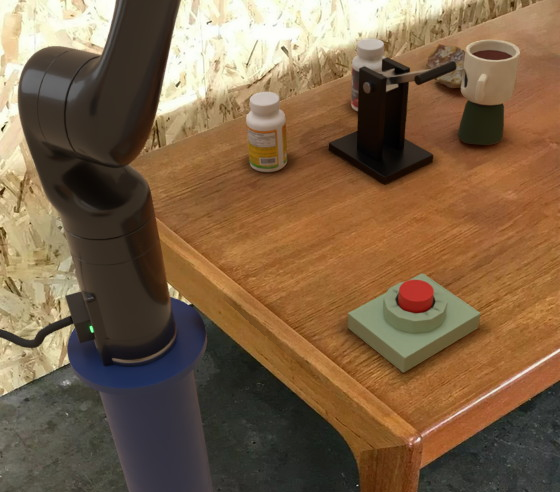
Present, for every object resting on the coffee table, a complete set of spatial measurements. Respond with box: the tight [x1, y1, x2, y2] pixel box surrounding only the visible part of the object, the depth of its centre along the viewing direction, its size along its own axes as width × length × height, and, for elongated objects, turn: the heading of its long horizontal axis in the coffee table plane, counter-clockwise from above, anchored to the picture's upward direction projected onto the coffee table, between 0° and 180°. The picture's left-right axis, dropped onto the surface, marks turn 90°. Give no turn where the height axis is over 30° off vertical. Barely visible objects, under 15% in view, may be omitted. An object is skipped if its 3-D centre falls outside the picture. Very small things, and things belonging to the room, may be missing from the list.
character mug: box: [457, 39, 521, 146], centre depth 110 cm, size 11×7×13 cm, turn 156°
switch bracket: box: [328, 56, 434, 185], centre depth 108 cm, size 12×9×13 cm
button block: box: [347, 272, 482, 373], centre depth 85 cm, size 11×9×4 cm
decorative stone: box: [425, 43, 466, 89], centre depth 127 cm, size 10×4×15 cm
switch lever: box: [377, 61, 457, 92], centre depth 101 cm, size 12×6×2 cm, turn 37°
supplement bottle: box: [245, 91, 288, 173], centre depth 109 cm, size 5×5×10 cm
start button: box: [398, 279, 434, 313], centre depth 84 cm, size 4×4×2 cm
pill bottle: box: [350, 37, 387, 113], centre depth 119 cm, size 5×5×10 cm
